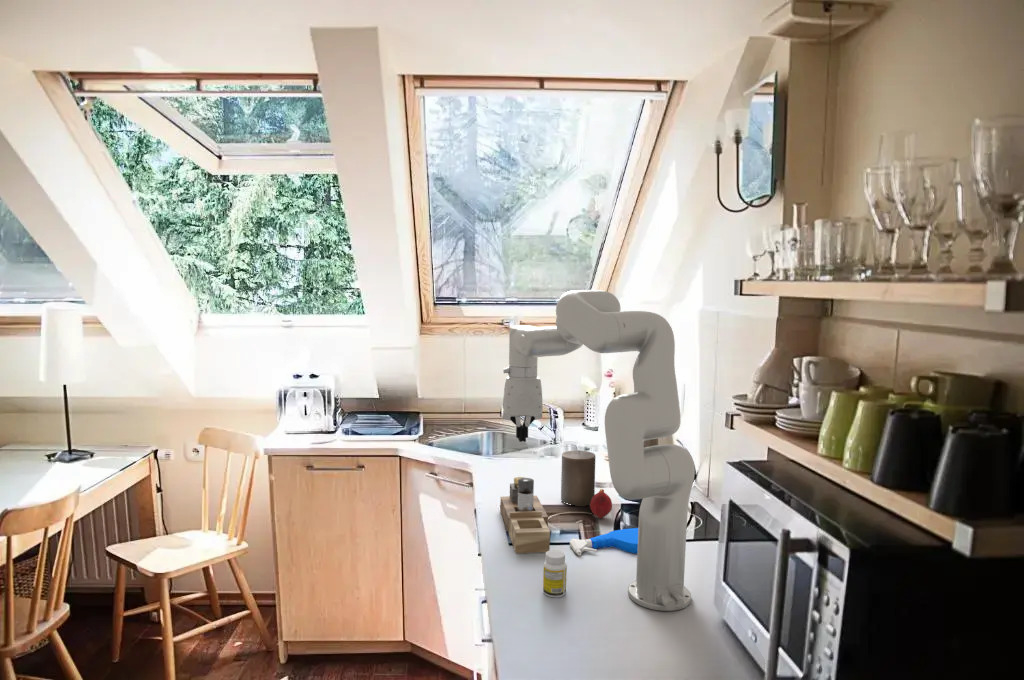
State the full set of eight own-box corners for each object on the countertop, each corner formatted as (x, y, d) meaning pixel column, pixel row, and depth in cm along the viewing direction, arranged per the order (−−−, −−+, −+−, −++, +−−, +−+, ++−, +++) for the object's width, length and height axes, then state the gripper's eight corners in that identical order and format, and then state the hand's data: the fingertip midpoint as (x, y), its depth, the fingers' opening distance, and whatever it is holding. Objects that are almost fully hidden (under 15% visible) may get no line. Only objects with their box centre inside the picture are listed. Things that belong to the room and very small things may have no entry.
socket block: (547, 532, 174) (548, 502, 173) (508, 533, 173) (509, 504, 172) (536, 509, 190) (537, 482, 189) (500, 510, 188) (500, 483, 188)
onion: (610, 523, 181) (611, 493, 180) (588, 521, 182) (589, 491, 181) (612, 515, 187) (613, 486, 186) (590, 513, 188) (591, 485, 187)
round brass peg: (527, 496, 185) (528, 480, 184) (514, 496, 184) (515, 481, 184) (525, 491, 188) (526, 476, 188) (512, 492, 188) (513, 477, 187)
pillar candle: (601, 504, 196) (602, 452, 194) (571, 508, 191) (573, 455, 190) (582, 494, 204) (583, 444, 203) (553, 498, 200) (555, 447, 198)
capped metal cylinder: (533, 528, 177) (535, 482, 175) (518, 528, 176) (519, 482, 175) (531, 522, 181) (532, 477, 179) (516, 522, 180) (517, 478, 179)
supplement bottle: (552, 585, 145) (553, 546, 144) (570, 592, 142) (571, 553, 141) (538, 593, 142) (539, 553, 141) (556, 600, 139) (558, 560, 138)
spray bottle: (658, 524, 174) (565, 531, 169) (677, 541, 163) (578, 550, 158) (658, 535, 174) (565, 543, 169) (677, 553, 164) (578, 562, 159)
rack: (549, 551, 162) (550, 527, 161) (515, 553, 161) (516, 528, 160) (540, 533, 173) (541, 510, 172) (509, 535, 172) (509, 511, 171)
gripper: (496, 374, 178) (495, 444, 180) (553, 374, 180) (552, 443, 182) (493, 370, 185) (492, 437, 187) (548, 370, 187) (546, 436, 189)
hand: (522, 440), depth 184 cm, fingers closed
